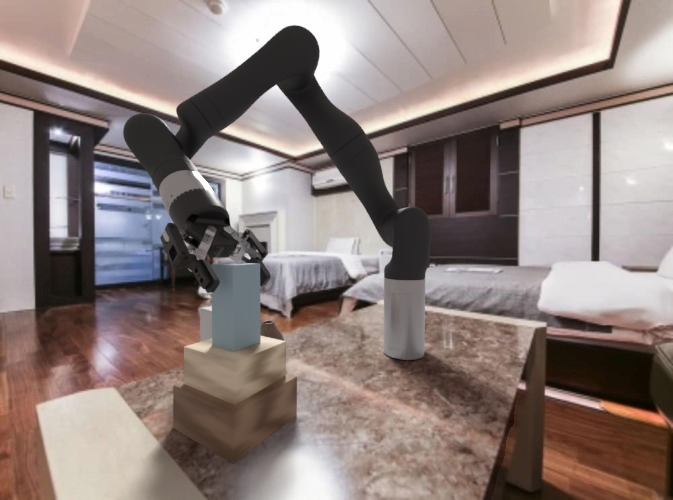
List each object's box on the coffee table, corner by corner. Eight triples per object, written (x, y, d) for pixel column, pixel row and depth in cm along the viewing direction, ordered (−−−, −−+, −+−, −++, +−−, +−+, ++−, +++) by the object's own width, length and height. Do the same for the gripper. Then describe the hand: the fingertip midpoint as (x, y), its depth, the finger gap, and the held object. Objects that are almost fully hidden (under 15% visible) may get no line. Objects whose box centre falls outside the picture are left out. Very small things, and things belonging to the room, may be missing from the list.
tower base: (240, 395, 48) (240, 358, 48) (296, 418, 42) (297, 376, 42) (173, 429, 39) (173, 384, 39) (232, 466, 32) (233, 412, 32)
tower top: (237, 361, 47) (237, 330, 47) (285, 376, 42) (286, 341, 42) (183, 383, 39) (184, 346, 39) (234, 404, 34) (235, 362, 34)
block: (239, 337, 43) (239, 262, 43) (260, 342, 41) (260, 263, 41) (212, 345, 40) (211, 264, 40) (233, 351, 37) (232, 265, 37)
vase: (276, 372, 56) (277, 327, 56) (243, 369, 57) (244, 325, 57) (289, 359, 63) (289, 318, 63) (259, 356, 64) (260, 317, 64)
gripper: (154, 177, 38) (206, 269, 32) (242, 195, 50) (292, 264, 44) (135, 220, 41) (179, 311, 35) (222, 226, 53) (267, 296, 47)
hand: (242, 285), depth 40 cm, fingers open, 8 cm apart
